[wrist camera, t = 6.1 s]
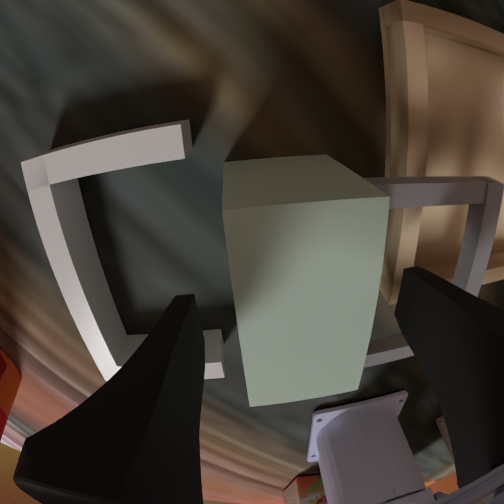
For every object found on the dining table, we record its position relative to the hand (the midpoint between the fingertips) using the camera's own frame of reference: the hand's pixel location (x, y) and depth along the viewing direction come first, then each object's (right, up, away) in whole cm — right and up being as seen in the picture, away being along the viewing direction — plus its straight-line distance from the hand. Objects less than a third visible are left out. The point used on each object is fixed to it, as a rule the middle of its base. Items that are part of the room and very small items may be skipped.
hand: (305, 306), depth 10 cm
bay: (-6, +2, +4) cm, 8 cm away
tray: (+12, +7, +3) cm, 14 cm away
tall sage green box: (+3, +3, +5) cm, 6 cm away
